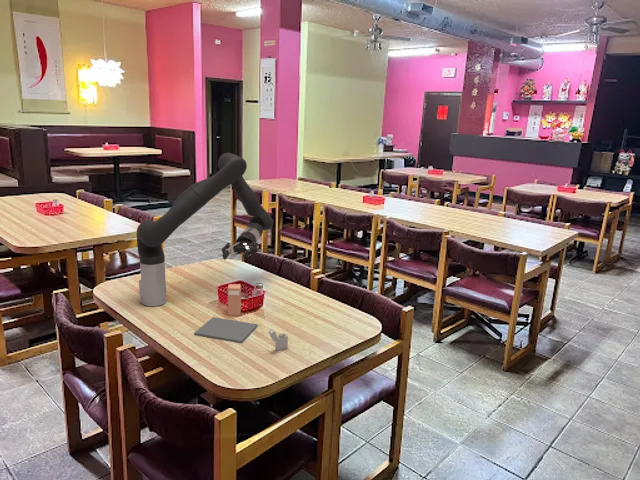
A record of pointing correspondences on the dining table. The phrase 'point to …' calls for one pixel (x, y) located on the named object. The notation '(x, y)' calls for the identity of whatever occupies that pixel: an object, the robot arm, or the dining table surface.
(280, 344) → the lighter
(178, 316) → the dining table surface
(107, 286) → the dining table surface
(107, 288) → the dining table surface
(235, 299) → the block
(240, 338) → the mat
